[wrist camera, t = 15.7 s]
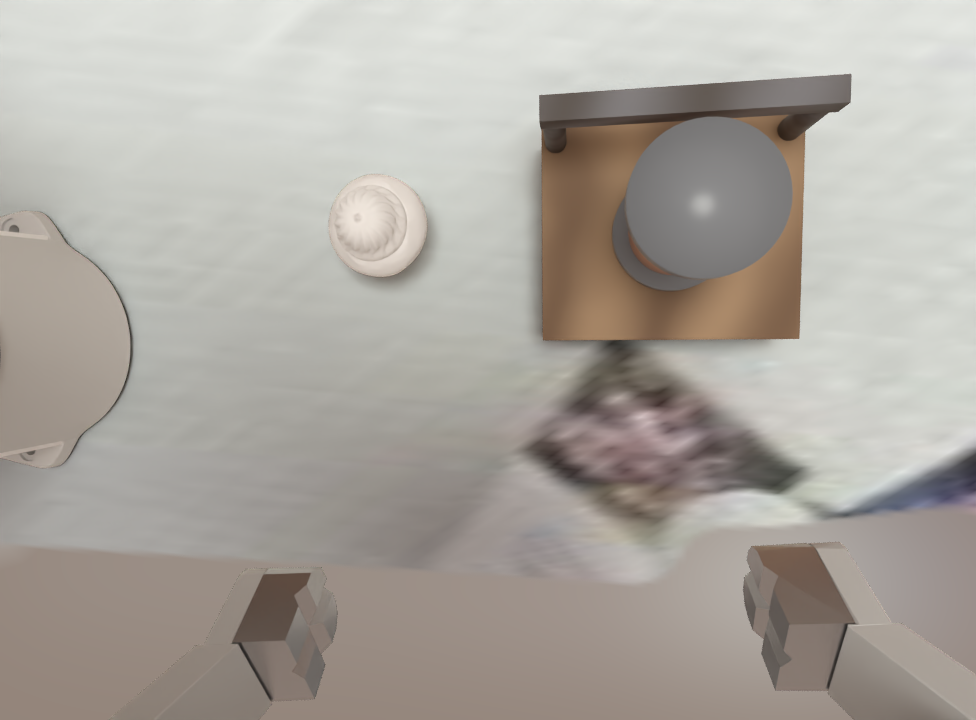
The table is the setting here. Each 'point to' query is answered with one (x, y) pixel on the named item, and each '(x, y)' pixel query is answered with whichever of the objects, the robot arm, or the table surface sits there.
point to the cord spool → (702, 204)
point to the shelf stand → (602, 186)
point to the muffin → (377, 225)
